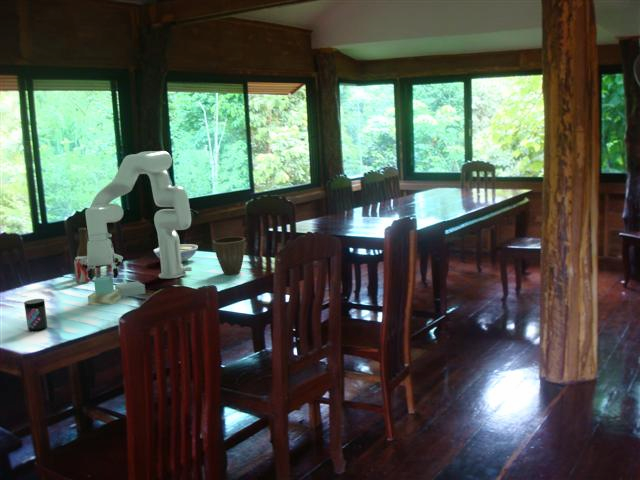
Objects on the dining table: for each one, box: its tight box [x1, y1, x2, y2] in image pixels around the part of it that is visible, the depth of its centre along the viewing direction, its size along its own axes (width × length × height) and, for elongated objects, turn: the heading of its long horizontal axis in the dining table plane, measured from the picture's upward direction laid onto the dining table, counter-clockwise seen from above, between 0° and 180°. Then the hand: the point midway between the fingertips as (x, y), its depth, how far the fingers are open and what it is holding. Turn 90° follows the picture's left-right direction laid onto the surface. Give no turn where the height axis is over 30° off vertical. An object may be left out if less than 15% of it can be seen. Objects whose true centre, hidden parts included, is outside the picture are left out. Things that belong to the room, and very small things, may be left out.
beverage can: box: [73, 256, 91, 284], centre depth 318 cm, size 6×6×12 cm
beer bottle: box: [76, 227, 97, 278], centre depth 329 cm, size 8×8×24 cm
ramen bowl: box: [153, 243, 199, 264], centre depth 354 cm, size 25×23×8 cm
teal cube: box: [93, 275, 115, 295], centre depth 280 cm, size 6×6×6 cm
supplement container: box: [23, 298, 48, 333], centre depth 245 cm, size 7×7×10 cm
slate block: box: [114, 280, 146, 298], centre depth 292 cm, size 10×10×4 cm
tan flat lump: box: [87, 289, 122, 306], centre depth 281 cm, size 10×10×4 cm
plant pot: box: [212, 236, 246, 276], centre depth 318 cm, size 15×15×16 cm
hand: (103, 278), depth 280 cm, fingers open, 9 cm apart
